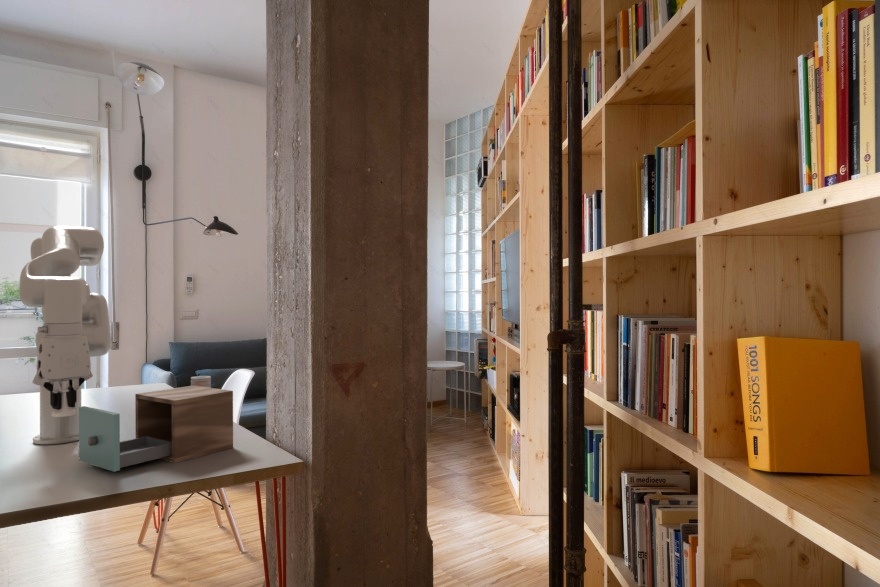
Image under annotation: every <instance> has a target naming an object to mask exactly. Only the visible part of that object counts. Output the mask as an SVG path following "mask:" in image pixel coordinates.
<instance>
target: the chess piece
mask: <svg viewBox="0 0 880 587" xmlns="http://www.w3.org/2000/svg"><path fill="white" fill-rule="evenodd" d="M68 382H69V380H66V379H63V380H60V381H59V384H60V387H61V390H59V392H61V405H62V408H61V409H60V410H55V411H53V412H52V415H51V416H53V417H65V416H71V415H74V414H76V410H74V409H70V408H69V406H68V403H67V396H66V392H68V391H69V390H68V389H66V387H67V385H68Z"/></svg>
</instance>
